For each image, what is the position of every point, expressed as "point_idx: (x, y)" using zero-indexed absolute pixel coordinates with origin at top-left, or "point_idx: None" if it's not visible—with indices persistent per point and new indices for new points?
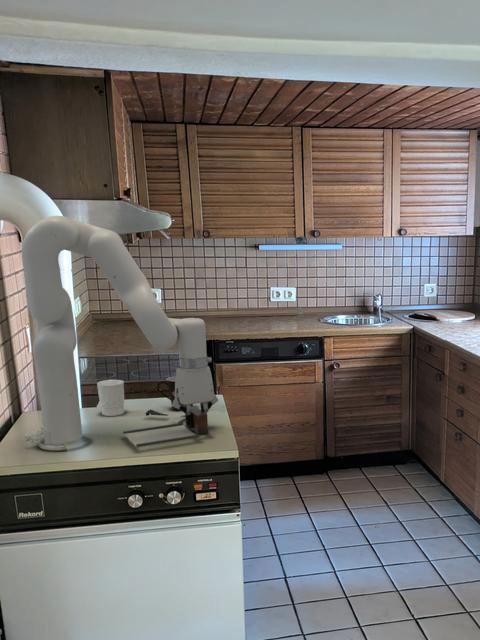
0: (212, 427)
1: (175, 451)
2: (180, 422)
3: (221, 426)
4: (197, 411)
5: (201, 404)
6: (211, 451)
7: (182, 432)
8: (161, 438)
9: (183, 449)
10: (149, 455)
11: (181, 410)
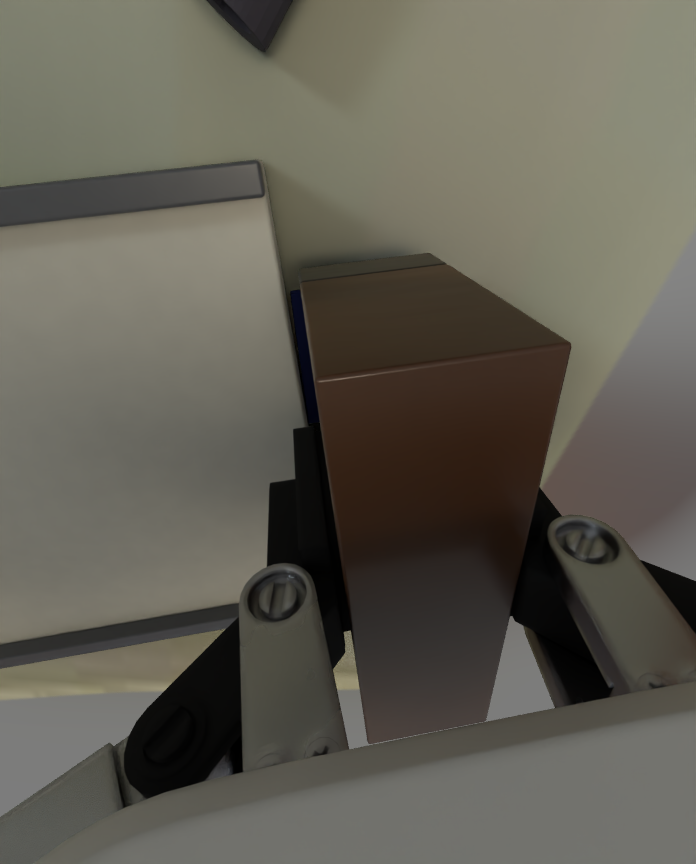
0: (592, 222)
1: (166, 652)
2: (240, 16)
3: (681, 225)
4: (439, 643)
5: (602, 649)
6: (351, 671)
7: (227, 477)
8: (32, 570)
9: (215, 636)
10: (9, 677)
11: (197, 668)
